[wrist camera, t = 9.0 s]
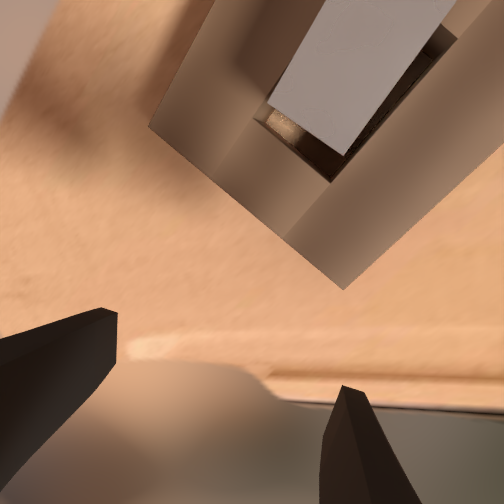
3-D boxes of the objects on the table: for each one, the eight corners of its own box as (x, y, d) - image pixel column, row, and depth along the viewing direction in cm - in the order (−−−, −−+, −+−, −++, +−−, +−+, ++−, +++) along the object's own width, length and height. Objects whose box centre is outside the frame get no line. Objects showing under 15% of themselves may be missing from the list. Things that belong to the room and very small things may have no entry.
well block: (576, 43, 12) (643, 14, 9) (341, 269, 17) (343, 290, 14) (343, -159, 12) (346, -245, 9) (175, 129, 17) (147, 126, 14)
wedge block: (411, 52, 13) (468, -16, 8) (339, 153, 15) (343, 156, 10) (355, 13, 13) (372, -80, 8) (290, 119, 15) (266, 102, 10)
